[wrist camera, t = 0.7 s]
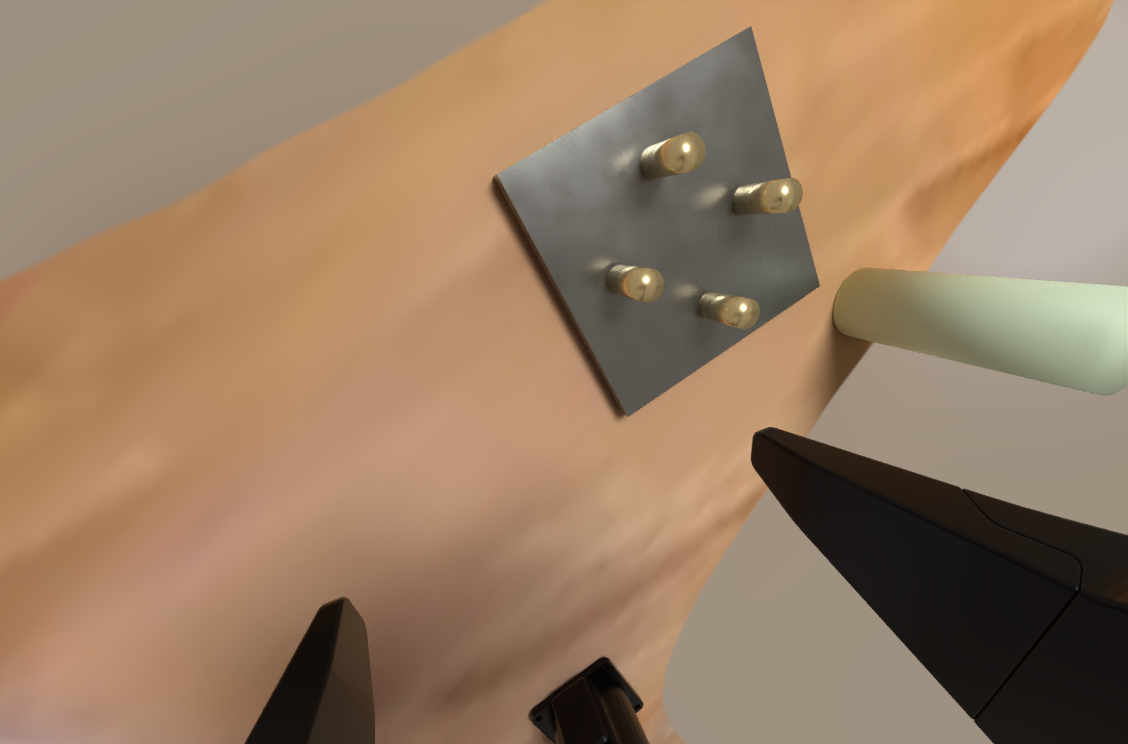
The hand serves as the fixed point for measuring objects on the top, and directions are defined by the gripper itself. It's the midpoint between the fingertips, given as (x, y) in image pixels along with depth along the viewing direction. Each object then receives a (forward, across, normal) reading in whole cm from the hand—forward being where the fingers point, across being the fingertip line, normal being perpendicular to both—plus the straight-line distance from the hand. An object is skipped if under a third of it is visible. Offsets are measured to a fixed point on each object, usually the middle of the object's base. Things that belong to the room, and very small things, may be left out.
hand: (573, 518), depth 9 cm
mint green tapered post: (+13, -24, +7) cm, 29 cm away
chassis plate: (+14, -12, 0) cm, 19 cm away
